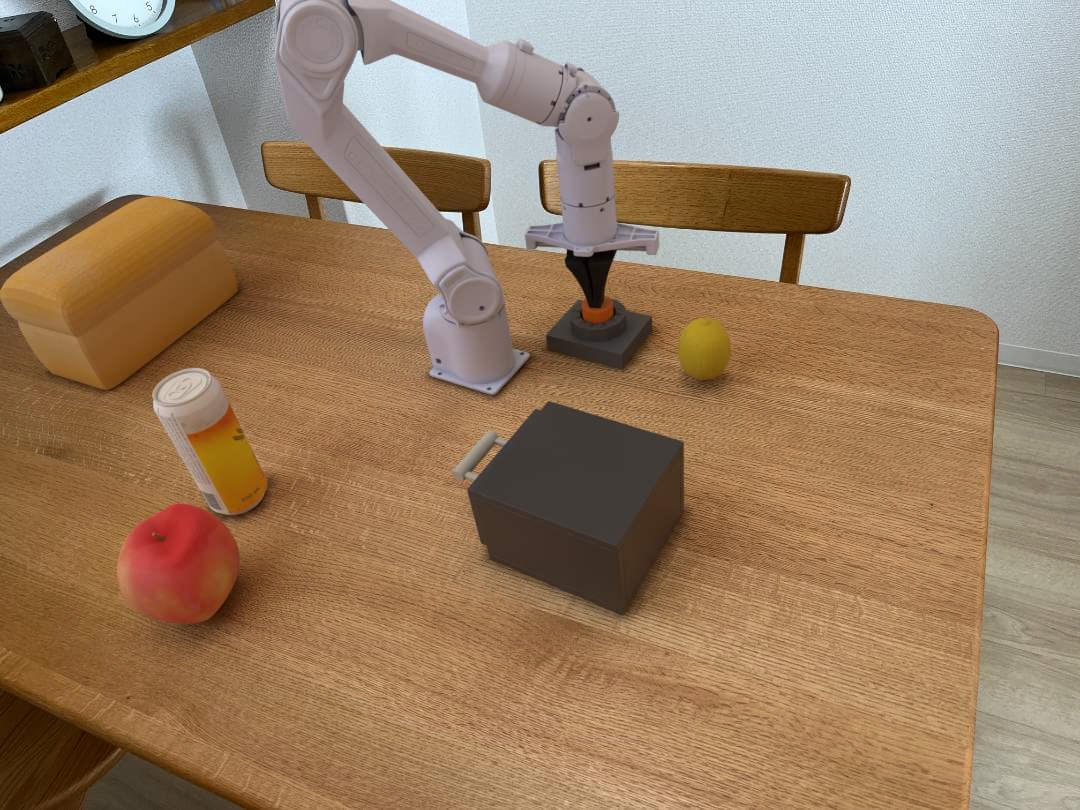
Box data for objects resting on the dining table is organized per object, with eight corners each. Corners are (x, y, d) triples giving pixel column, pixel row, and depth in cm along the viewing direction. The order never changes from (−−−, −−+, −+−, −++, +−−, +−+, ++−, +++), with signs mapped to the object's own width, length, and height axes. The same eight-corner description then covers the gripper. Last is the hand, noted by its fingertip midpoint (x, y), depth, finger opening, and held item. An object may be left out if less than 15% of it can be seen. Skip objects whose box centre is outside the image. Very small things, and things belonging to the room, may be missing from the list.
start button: (577, 320, 94) (575, 308, 93) (591, 304, 96) (590, 292, 95) (604, 327, 92) (603, 314, 91) (618, 310, 95) (617, 298, 93)
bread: (110, 393, 100) (48, 292, 91) (44, 372, 106) (-21, 274, 96) (244, 289, 116) (203, 192, 106) (181, 275, 121) (137, 182, 111)
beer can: (281, 480, 85) (228, 369, 75) (247, 524, 80) (187, 411, 71) (234, 471, 87) (176, 361, 77) (199, 513, 82) (133, 403, 73)
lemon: (728, 396, 86) (731, 336, 81) (676, 394, 88) (675, 334, 82) (730, 364, 90) (733, 304, 85) (680, 362, 92) (679, 304, 86)
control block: (547, 349, 96) (543, 322, 94) (579, 313, 101) (577, 286, 99) (622, 369, 92) (620, 341, 89) (652, 331, 97) (651, 303, 94)
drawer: (444, 528, 76) (428, 474, 71) (509, 450, 83) (498, 396, 78) (601, 593, 68) (595, 538, 63) (658, 502, 75) (656, 445, 70)
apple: (219, 544, 79) (177, 473, 72) (277, 590, 74) (237, 518, 67) (130, 613, 74) (77, 543, 67) (185, 668, 69) (133, 598, 62)
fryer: (489, 559, 74) (472, 491, 68) (558, 468, 81) (548, 400, 75) (623, 615, 67) (617, 546, 61) (684, 512, 75) (684, 441, 69)
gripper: (510, 210, 84) (526, 318, 92) (649, 215, 79) (652, 327, 88) (529, 180, 89) (543, 285, 97) (661, 182, 84) (663, 292, 93)
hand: (596, 303), depth 93 cm, fingers closed
